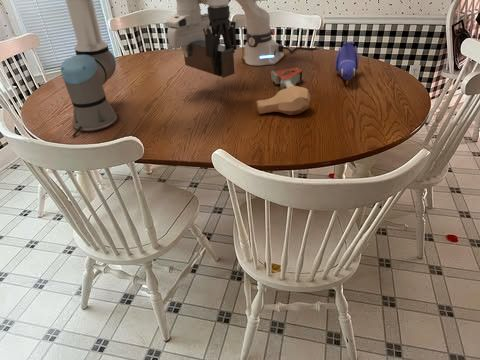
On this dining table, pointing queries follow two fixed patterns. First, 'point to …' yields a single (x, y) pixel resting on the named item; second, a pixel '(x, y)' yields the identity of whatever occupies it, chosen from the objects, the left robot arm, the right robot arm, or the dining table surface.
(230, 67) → the bar
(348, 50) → the toy
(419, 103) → the dining table surface
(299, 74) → the tape dispenser
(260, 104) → the squash
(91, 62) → the left robot arm
